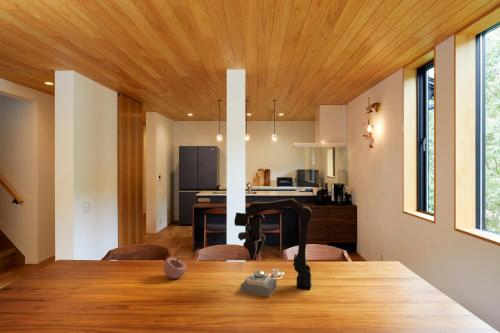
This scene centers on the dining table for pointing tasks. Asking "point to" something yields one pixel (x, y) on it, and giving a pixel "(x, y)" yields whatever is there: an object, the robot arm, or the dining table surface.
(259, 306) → the dining table surface
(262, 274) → the metal can
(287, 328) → the dining table surface
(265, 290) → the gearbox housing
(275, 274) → the teacup and saucer
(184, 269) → the mortar and pestle
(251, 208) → the robot arm
